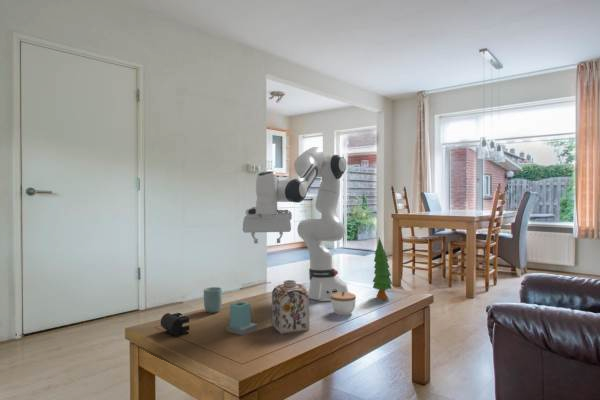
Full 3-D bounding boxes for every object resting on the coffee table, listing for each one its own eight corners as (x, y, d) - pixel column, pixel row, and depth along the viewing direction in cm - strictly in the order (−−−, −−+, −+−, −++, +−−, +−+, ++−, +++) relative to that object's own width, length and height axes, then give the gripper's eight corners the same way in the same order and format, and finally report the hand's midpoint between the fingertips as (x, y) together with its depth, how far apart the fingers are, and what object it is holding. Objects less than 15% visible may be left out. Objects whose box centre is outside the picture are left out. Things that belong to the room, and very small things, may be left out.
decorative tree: (369, 296, 198) (368, 236, 198) (385, 294, 202) (384, 235, 201) (380, 301, 189) (380, 238, 189) (397, 299, 193) (396, 237, 192)
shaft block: (242, 325, 156) (242, 307, 156) (257, 329, 151) (257, 311, 151) (227, 331, 150) (227, 312, 150) (242, 335, 145) (242, 316, 145)
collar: (240, 322, 154) (239, 301, 154) (250, 324, 151) (250, 303, 151) (230, 325, 150) (230, 304, 150) (240, 328, 147) (240, 306, 147)
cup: (217, 314, 171) (217, 291, 171) (200, 313, 173) (200, 290, 173) (224, 309, 179) (224, 287, 179) (208, 308, 181) (208, 286, 180)
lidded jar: (353, 318, 164) (352, 295, 164) (328, 315, 167) (327, 293, 167) (358, 310, 174) (357, 289, 174) (334, 309, 177) (333, 288, 177)
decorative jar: (271, 325, 156) (271, 279, 156) (299, 321, 160) (299, 277, 160) (280, 334, 145) (279, 285, 145) (310, 330, 149) (309, 282, 149)
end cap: (160, 332, 150) (160, 314, 150) (178, 327, 155) (177, 310, 155) (171, 339, 143) (171, 320, 143) (190, 334, 147) (189, 315, 147)
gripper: (291, 209, 170) (292, 241, 170) (243, 210, 169) (244, 242, 169) (291, 209, 163) (292, 243, 164) (241, 210, 163) (242, 244, 163)
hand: (267, 243), depth 166 cm, fingers open, 8 cm apart
